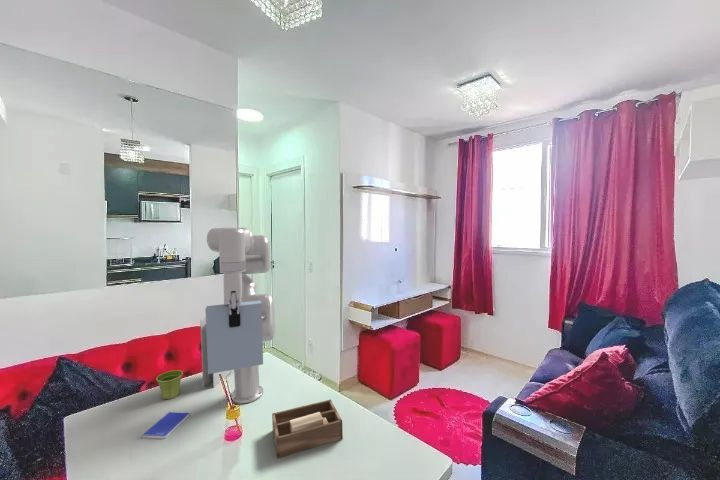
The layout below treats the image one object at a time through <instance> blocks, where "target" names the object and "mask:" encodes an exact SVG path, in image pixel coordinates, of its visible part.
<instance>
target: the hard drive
mask: <svg viewBox="0 0 720 480" xmlns="http://www.w3.org/2000/svg"><path fill="white" fill-rule="evenodd" d="M189 416H190V413H189V412H177V411H176V412H175V411H174V412H171V411H169V412H168V413H166V414H165V415H164V416H163V417H161V419H159V420H158V421H156V423H155V424H154V425H152V426H151V427H150V428H149V429H147V430H146V431H145V432H144V433H143V434H142V435H141V438H142V437H147V439H164V438H165V437H166V436H167V437H168V436H169V435H171V433H173V431H174V430H175V429H177V427H179V426H180V425H181V424H182V423H183V422H184V421H185V420H186V419H187V418H188V417H189ZM167 437H166V438H167ZM166 438H165V439H166Z"/></svg>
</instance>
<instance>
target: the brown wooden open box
mask: <svg viewBox="0 0 720 480" xmlns="http://www.w3.org/2000/svg"><path fill="white" fill-rule="evenodd" d="M317 412H320V414H321V415H322V417H323V418H325V417H326V419H327V421H328V423H327V424H323V425H320V426H316V427H312V428H309V429H305V430H301V431H297V432H294V433H290V420H293V419H296V418H300V417H303V416H307V415H310V414H314V413H317ZM271 417H272V421H271V422H272V435H273V440H274V447H275V448H274V449H275V453H276V458H277V459H280V458H283V457H286V456H290V455H293V454H297V453H300V452H302V451H306V450H307V451H308V450H310V449H313V448H317V447H320V446H323V445H324V446H325V445H326V444H330V443H333V442H334V443H335V442H337V441H340V440H343V434H344V433H343V420H342V418H341V417H340V414H339V412H338V411H337V408H336V407H335V405H334V402H333V401H332V399H327V400H323V401H319V402H315V403H311V404H310V403H309V404H306V405H302V406H297V407H294V408H290V409H286V410H282V411H277V412H273V413H272V414H271Z"/></svg>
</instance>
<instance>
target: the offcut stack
mask: <svg viewBox="0 0 720 480" xmlns="http://www.w3.org/2000/svg"><path fill="white" fill-rule="evenodd" d="M327 423H328V421H327V419H326V417H325V418H323V417H322V415H321V414H320V412H317V413H314V414H310V415H307V416H303V417H300V418H296V419H293V420H290V433H294V432H297V431H301V430H305V429H309V428H312V427H316V426H320V425H323V424H327Z"/></svg>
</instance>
